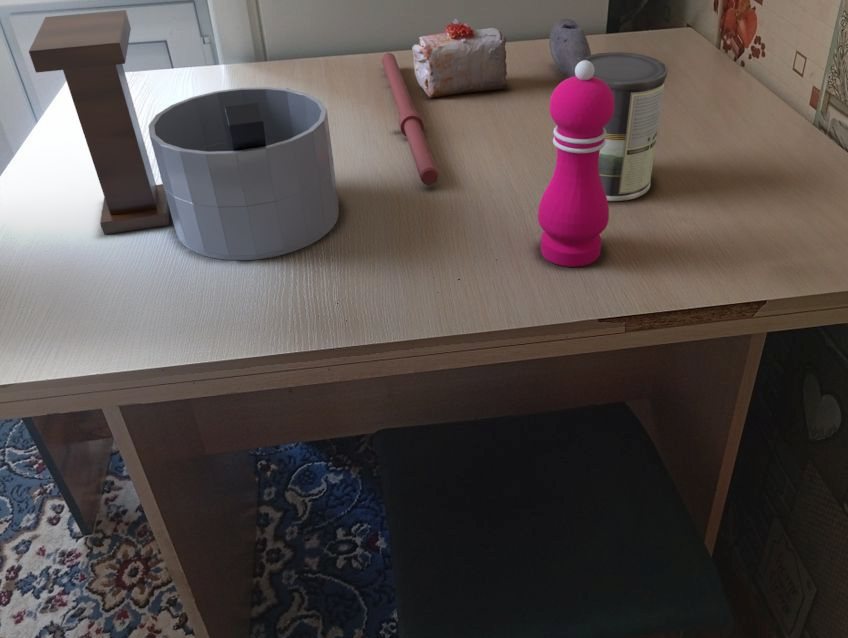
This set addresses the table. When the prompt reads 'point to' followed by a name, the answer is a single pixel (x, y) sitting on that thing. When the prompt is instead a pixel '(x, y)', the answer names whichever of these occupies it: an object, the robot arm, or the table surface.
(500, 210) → the table surface
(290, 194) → the pot
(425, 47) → the food item
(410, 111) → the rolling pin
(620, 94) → the coffee can
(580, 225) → the pepper mill
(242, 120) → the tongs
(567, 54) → the perforated stone tool
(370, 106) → the table surface
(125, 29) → the pedestal
